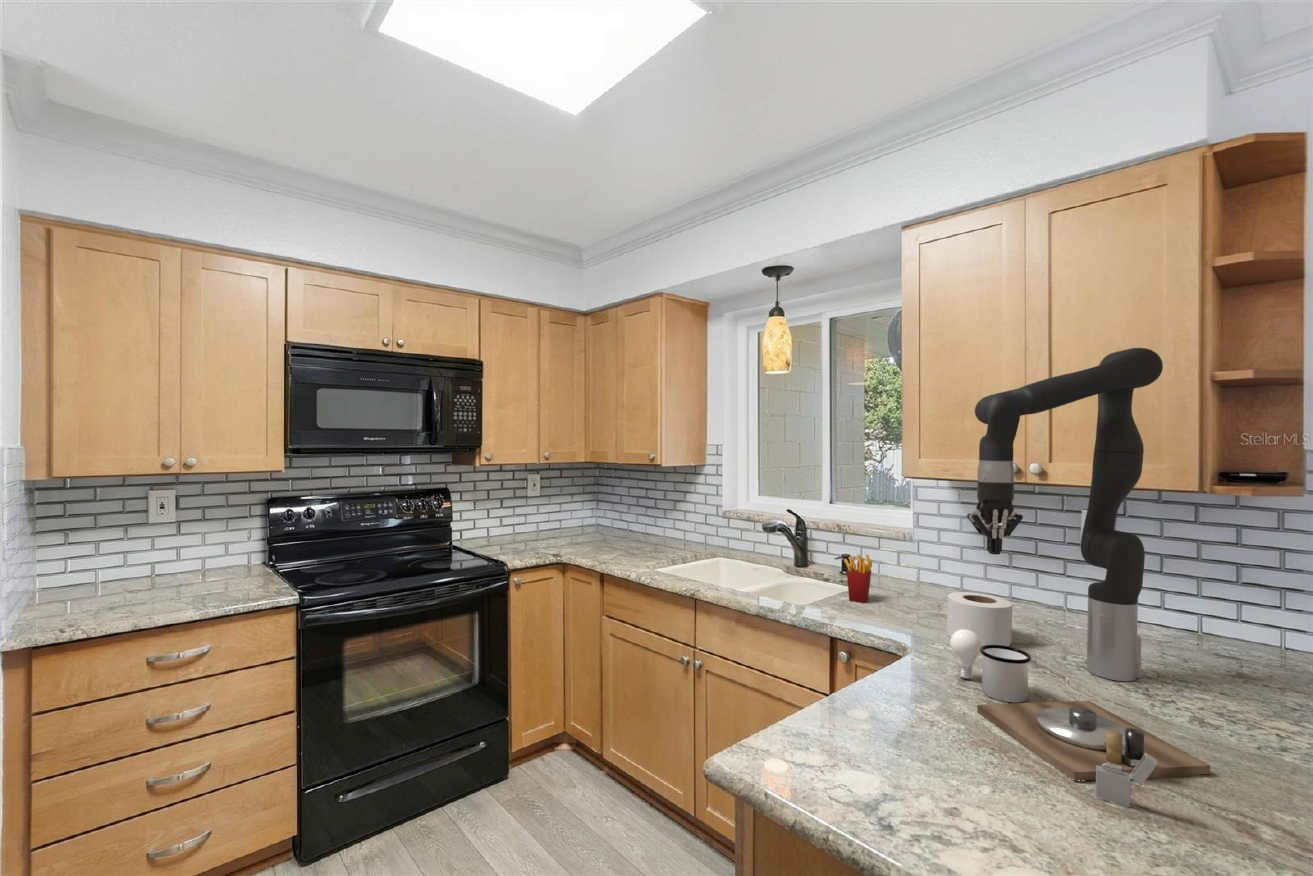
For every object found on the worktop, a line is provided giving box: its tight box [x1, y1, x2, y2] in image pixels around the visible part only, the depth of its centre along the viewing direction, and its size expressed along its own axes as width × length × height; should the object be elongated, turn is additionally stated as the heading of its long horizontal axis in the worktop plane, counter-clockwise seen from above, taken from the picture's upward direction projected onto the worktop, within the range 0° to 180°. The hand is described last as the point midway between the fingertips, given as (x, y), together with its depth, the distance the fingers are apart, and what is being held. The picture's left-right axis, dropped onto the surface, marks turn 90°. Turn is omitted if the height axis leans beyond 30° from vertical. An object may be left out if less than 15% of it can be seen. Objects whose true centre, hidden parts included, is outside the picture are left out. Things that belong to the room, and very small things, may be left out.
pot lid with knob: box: [1037, 707, 1144, 766], centre depth 107 cm, size 19×14×5 cm
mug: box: [980, 645, 1032, 704], centre depth 129 cm, size 12×10×9 cm
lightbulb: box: [949, 629, 982, 680], centre depth 136 cm, size 6×6×11 cm
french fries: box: [843, 554, 873, 604], centre depth 202 cm, size 9×8×15 cm
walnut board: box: [976, 700, 1211, 782], centre depth 109 cm, size 24×24×6 cm
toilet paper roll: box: [946, 591, 1013, 647], centre depth 165 cm, size 16×15×11 cm
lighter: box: [1095, 753, 1157, 808], centre depth 90 cm, size 7×2×8 cm, turn 55°
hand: (994, 553), depth 142 cm, fingers closed
